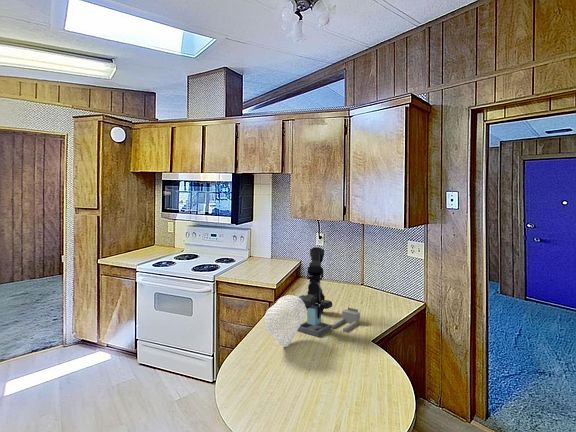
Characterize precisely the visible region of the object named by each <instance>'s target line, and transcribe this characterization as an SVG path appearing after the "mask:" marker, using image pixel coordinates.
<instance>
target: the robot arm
mask: <svg viewBox="0 0 576 432" xmlns="http://www.w3.org/2000/svg"><path fill="white" fill-rule="evenodd" d="M309 257H310V260H311V262H309V265H308V267H307V274H306V279H307V280H308V281H309V283H308V285H307V286H308V288H307V294H306V295H304V294H302V295H300V296H298V297H299V298H300V299H301V300H302V301H303V302H304V303H303V304H305V307H306V310H307V308H309V307H311V306H312V305H313V306H317V309H318V319H319V318H320V316H321V317H322V314H323V313H324V310H328V309H330V308H331V307H333V302H332V301H331V300H328V299H325V298H326V297H325V294H324V293H323V289H322V287H321V280H323V279H324V268H323V267H322V263H323V261H324V258H325V249H323V248H322V247H312V248H310V249H309ZM296 300H297V299H296ZM298 300H299V299H298ZM298 300H297V301H298ZM299 301H300V300H299ZM301 303H302V302H301Z"/></svg>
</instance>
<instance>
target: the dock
mask: <svg viewBox="0 0 576 432" xmlns="http://www.w3.org/2000/svg"><path fill="white" fill-rule="evenodd" d="M341 313H342V314H341V318H340V319H338V320H337V321H335V322H333V323H332V324H330V325H331V330H332V329H336V328H337V327H339V326H340V325H342V324H343V323H347V324H348V325H346V326H344V327H342V331H343V332H344V333H347V332H348V331H349V330H351V329H353V328H354V327H356V326H357V325H359V324H360V321H361V312H359V309H357V308H352V307H347V309H343V310H342V311H341Z"/></svg>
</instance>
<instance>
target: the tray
mask: <svg viewBox="0 0 576 432" xmlns="http://www.w3.org/2000/svg"><path fill="white" fill-rule="evenodd" d="M331 330H332V328H331V324H330V323H327V322H326V323H325V322H322V321H321V323H319V324H317V325H311V324H307V320H306V321H304V322H302V323H301V325H300V327H299V329H298V331H297V333H298V332H299V333H302V334H305V335H309V336H313V337H314V338H315V337H316V338H319V337H321V336H323V335H325V334H326V333H327V332H329V331H331Z"/></svg>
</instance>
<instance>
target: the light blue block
mask: <svg viewBox="0 0 576 432" xmlns="http://www.w3.org/2000/svg"><path fill="white" fill-rule="evenodd" d="M306 316H307V317H306V321H307V324H311V325H317V324H319V323H321V322H322V315H321V316H320V318H319V319H318V309H317V306H313V305H312V306H311V307H309V308H307V309H306Z"/></svg>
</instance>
